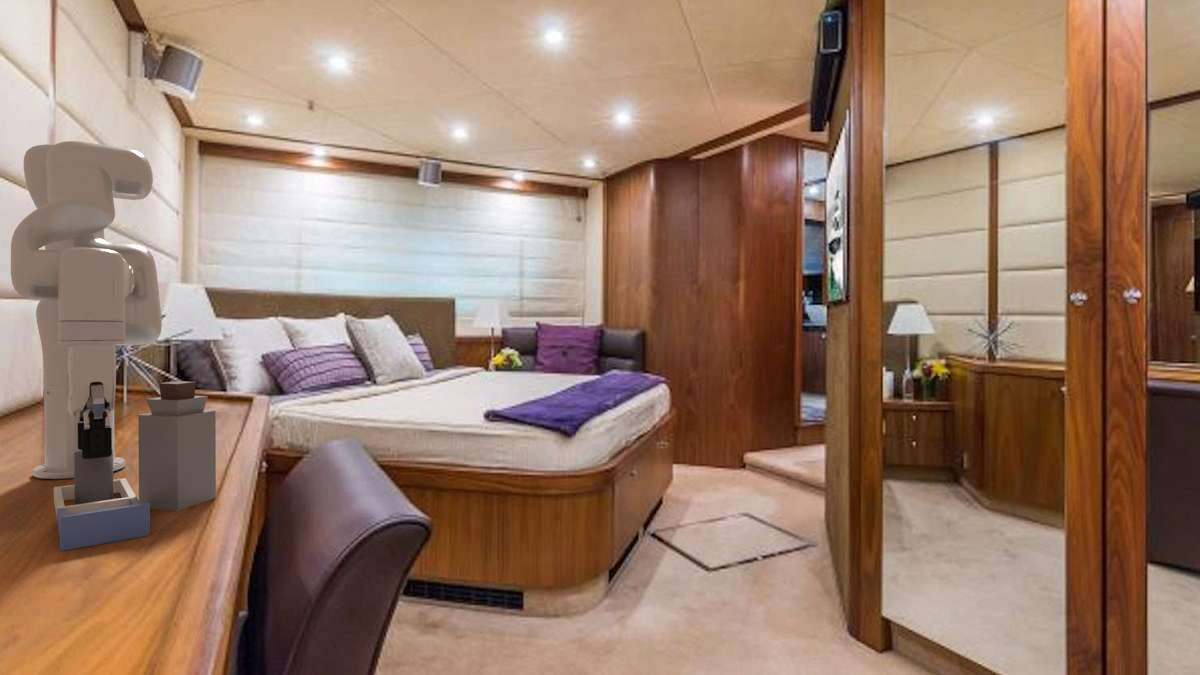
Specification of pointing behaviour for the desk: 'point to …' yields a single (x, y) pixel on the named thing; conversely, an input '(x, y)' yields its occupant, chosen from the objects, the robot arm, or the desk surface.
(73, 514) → the blue-fronted open tray
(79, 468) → the grey two-tone upright block
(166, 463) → the perfume bottle
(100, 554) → the desk surface
